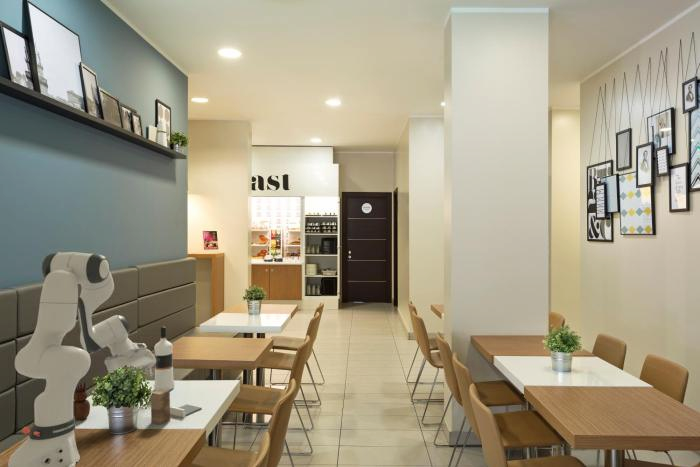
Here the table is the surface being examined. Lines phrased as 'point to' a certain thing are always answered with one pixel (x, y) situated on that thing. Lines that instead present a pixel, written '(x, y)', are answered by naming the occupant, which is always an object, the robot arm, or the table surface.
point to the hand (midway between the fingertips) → (141, 379)
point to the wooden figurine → (81, 403)
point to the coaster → (190, 409)
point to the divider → (177, 411)
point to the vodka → (163, 363)
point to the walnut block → (160, 406)
